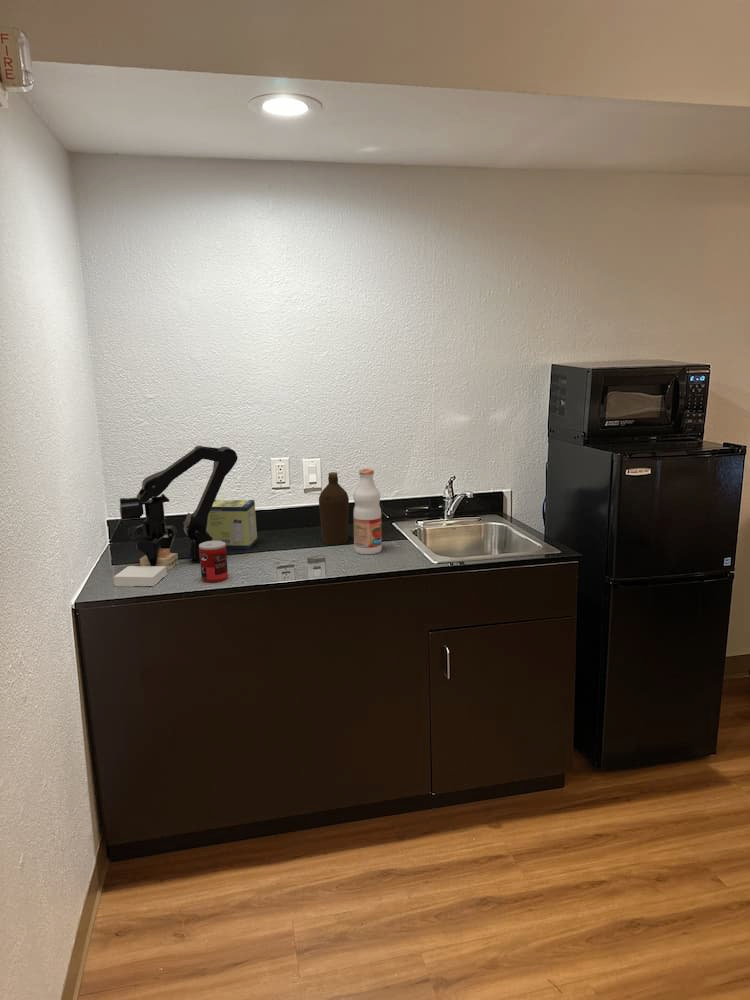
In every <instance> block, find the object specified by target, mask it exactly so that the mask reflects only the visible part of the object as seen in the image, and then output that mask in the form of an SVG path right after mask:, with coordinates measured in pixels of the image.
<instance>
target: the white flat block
mask: <svg viewBox="0 0 750 1000" xmlns="http://www.w3.org/2000/svg"><path fill="white" fill-rule="evenodd" d="M167 573H168V572H167V570H166V566H140V565H128V566H127V567H125V568H124V569H123V570H121V571H119V572H118V573H117V574H115V575H114V576H113V581H114V582H113V583H114V587H133V586H154V585H155V584H156V585H158V584H159V583H160V582H161V581H162V580H163V579H164V578H163V577H165V576H166V575H168V574H167ZM166 577H167V576H166ZM166 577H165V578H166ZM162 578H163V579H162ZM161 579H162V580H161ZM160 580H161V581H160ZM159 581H160V582H159ZM158 582H159V583H158ZM157 583H158V584H157ZM156 585H155V586H156ZM155 586H154V587H155Z"/></svg>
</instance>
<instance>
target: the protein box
mask: <svg viewBox="0 0 750 1000" xmlns="http://www.w3.org/2000/svg"><path fill="white" fill-rule="evenodd" d="M255 501H256V500H255V499H227V500H226V499H215V501H214V503H213V505H212V508H211V510H210V512H209V514H208V520H207V527H206V531H207V532H208V533H209V534H210V536H211V537H212V538H213V539H212V541H223V542H225V543H226V550H240V549H245V551H246V550H248V551H249V550H251V548H252V547H254V545H255V544H256V543H257V542H258V534H257V516H256V505H255V504H256V503H255Z"/></svg>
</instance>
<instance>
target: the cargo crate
mask: <svg viewBox="0 0 750 1000" xmlns="http://www.w3.org/2000/svg"><path fill="white" fill-rule="evenodd" d="M170 553H171V548H170V549H169V548H161V547H160V551H159V555H158V558H166V557H168V556H169V555H170Z"/></svg>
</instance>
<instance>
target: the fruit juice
mask: <svg viewBox="0 0 750 1000" xmlns="http://www.w3.org/2000/svg"><path fill="white" fill-rule="evenodd" d="M374 475H375V472H374V469H371V468H370V469H369V468H365V469H360V470H359V471H358V476H359V481H358V482H359V483H358V486H357V487H356V489H355V490H354V491H353V494H352V495H353V502H354V507H353V515H352V517H353V544H354V545H353V546H354V547H353V548H354V552H355V553H357V554H359V555H374V554H378V553H380V552H382V548H383V547H382V546H383V545H382V543H383V542H382V541H383V539H382V535H383V534H382V510H381V506H380V501H381V492H380V490H379V489H378V488H377V486H376V484H375V482H374Z"/></svg>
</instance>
